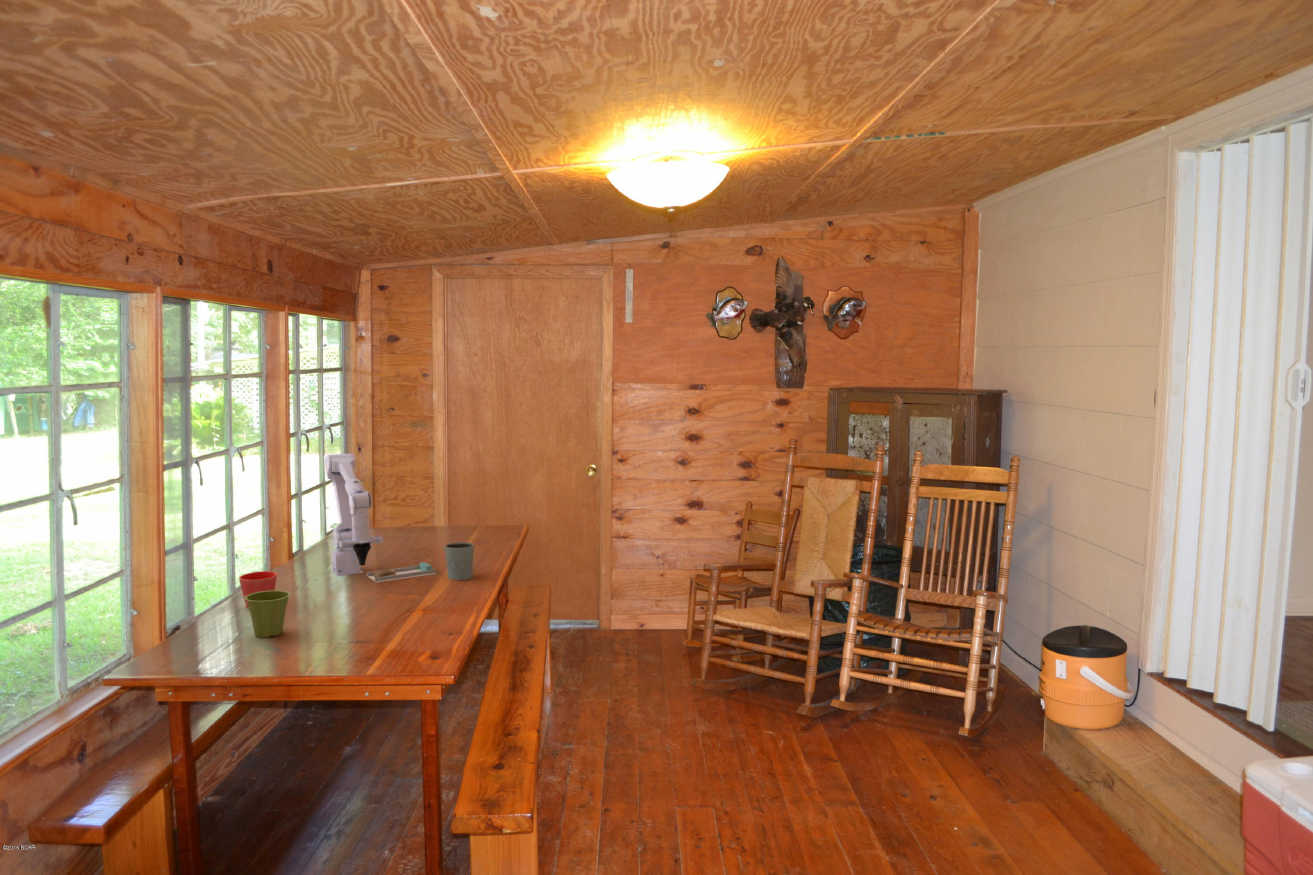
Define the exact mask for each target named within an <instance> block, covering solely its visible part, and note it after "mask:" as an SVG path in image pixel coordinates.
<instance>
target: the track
mask: <svg viewBox="0 0 1313 875" xmlns="http://www.w3.org/2000/svg"><path fill="white" fill-rule="evenodd" d="M391 569H392V570H394V571H396V575H390V576H383V577H377V578H376V577H374V571H370V572H369V571H368V572H366V575H365V576H366V577H367V578H369V579H370V580H372V581H374V582H375V583H381V582H388V581H390V582H391V581H397V580H402V579H403V580H404V579H409V578H416V577H423V576H430V575H437V569H436V568H433V567H432V564H429V563H428V562H425V561H423V562H419V564H418V565H412V566H411V565H410V566H405V567H397V568H391Z"/></svg>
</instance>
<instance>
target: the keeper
mask: <svg viewBox="0 0 1313 875" xmlns="http://www.w3.org/2000/svg"><path fill="white" fill-rule="evenodd" d="M392 569H393V568H386V569H379V570H374V571H373V572H374V577H376V578H377V577H383V576H390V575H396V571H394V570H392Z"/></svg>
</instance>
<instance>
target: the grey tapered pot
mask: <svg viewBox="0 0 1313 875" xmlns="http://www.w3.org/2000/svg"><path fill="white" fill-rule="evenodd" d="M474 547H475V545H474V543H472V542H461V541H460V542H452V543H447V544H445V545H444V550H445V551H444V552H445V558H446V566H447V577H448V579H450V580H455V581H458V582H463V581H462V580H465V581H469V580H472V579H473V577H474V550H475V549H474ZM471 578H472V579H471Z"/></svg>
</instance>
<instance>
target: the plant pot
mask: <svg viewBox="0 0 1313 875" xmlns="http://www.w3.org/2000/svg"><path fill="white" fill-rule="evenodd" d="M290 596H291V592H288V591H287V590H279V589H277V590H276V589H275V590H274V591H262V592H256V593H252V594H249V595H247V596H246V597H245V600H247V603H248V607H249V608H248V610H249V612H250V617H251V623H252V628H253V631H254V632H253V633H254V635H255V637H258V638H271V637H272V636H274V637H277V636H279V635H281V634H283V631H284V625H285V617H286V610H287V604H288V603H289V602H288V601H289V597H290ZM245 600H244V601H245Z"/></svg>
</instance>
